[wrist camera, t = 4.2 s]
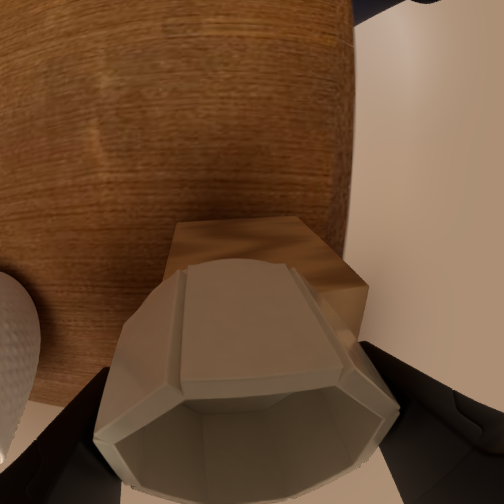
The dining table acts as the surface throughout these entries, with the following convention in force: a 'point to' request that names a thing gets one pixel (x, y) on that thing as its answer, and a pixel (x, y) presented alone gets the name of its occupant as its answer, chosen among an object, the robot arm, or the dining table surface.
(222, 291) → the bowl
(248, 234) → the stand
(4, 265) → the dining table surface
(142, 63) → the dining table surface
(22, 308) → the mug
